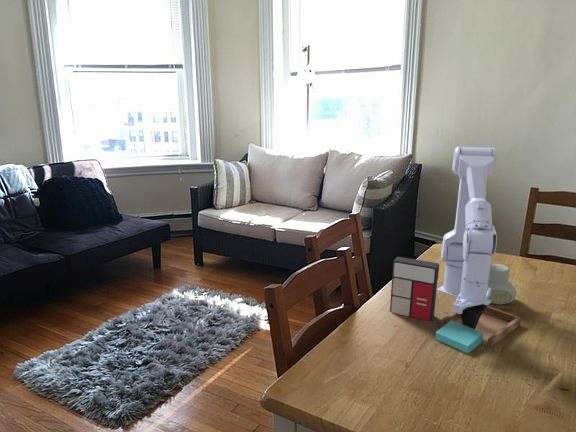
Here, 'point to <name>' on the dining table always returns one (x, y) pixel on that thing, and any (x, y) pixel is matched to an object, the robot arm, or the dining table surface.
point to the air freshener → (500, 285)
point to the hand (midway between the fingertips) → (468, 330)
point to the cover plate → (459, 336)
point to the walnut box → (490, 324)
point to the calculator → (414, 288)
